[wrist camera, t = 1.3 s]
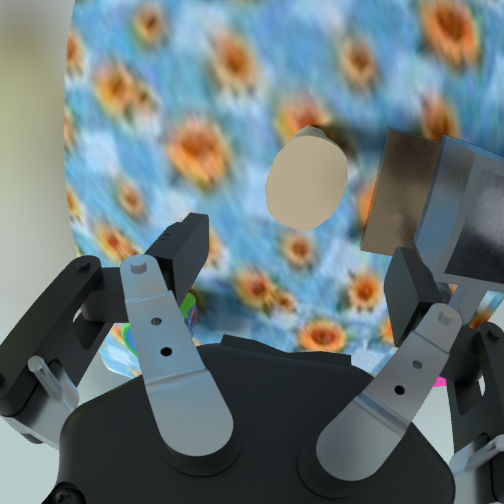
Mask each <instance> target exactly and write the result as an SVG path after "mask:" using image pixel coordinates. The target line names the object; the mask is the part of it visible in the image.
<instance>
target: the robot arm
mask: <svg viewBox="0 0 504 504" xmlns="http://www.w3.org/2000/svg"><path fill="white" fill-rule="evenodd" d="M208 252H209V217H208V215H206V214H199V213H189V214H188V216H187V217H186V218H185V219H184V220H183V221H182V222H176V223H174V224H172V225H170V226H169V227H167V228H166V230H165V231H164V232H163V233H162V234H161V235H160V236H159V237H158V240H156V241H155V242H154V243H153V244H152V245H151V247H150V248H149V249H148V250H147V251H146V252H145V253H144V254H139V255H134V256H131V257H128V258H127V259H125V260H124V261H123V262H122V263H121V265H120V267H110V268H102V266H101V262H100V259H99V258H97V257H96V256H91V255H86V256H81V257H78V258H76V259H74V260H73V261H71V262H70V263H69V264H68V265H67V266H66V267H65V269H64V270H63V271H62V272H61V273H60V274H59V275H58V276H57V277H56V278H55V280H54V281H53V282H52V283H51V284H50V285H49V286H48V287H47V288H46V290H45V291H44V292H43V293H42V294H41V295H40V296H39V298H38V299H37V300H36V301H35V302H34V303H33V305H32V306H31V307H30V308H29V309H28V311H27V312H26V313H25V314H24V316H23V317H22V318H21V320H19V322H18V323H17V324H16V326H15V327H14V328H13V329H12V331H11V332H10V333H9V335H8V336H7V337H6V339H5V340H4V341H3V343H2V344H1V345H0V416H1V417H2V418H3V419H4V420H5V421H6V422H7V423H8V424H9V425H10V426H11V427H13V428H14V429H15V430H16V431H17V432H19V433H20V434H22V435H23V436H24V437H25V438H26V439H28V440H29V441H30V442H32V443H35V444H41V443H46V444H48V445H50V446H51V447H53V448H55V449H57V450H59V454H60V458H59V472H58V477H57V481H56V484H55V486H54V488H53V490H52V492H51V493H50V494H49V495H48V497H47V498H46V499H45V500H44V501H43V502H42V503H41V504H504V332H503V331H502V329H500V327H498V326H497V325H496V324H494V323H491V322H483V323H482V324H481V325H480V326H479V328H478V330H475V329H472V328H469V327H467V326H464V325H462V319H461V316H460V315H459V313H458V312H457V311H456V310H455V309H454V308H452V307H451V306H449V305H446V304H444V301H443V299H442V296H441V294H440V292H439V289H438V287H437V286H436V282H435V280H434V278H433V275H432V273H431V271H430V269H429V268H428V267H427V266H426V265H425V264H424V263H423V262H420V261H419V259H418V256H417V254H416V252H415V250H414V249H411V248H406V247H400V246H397V247H396V249H395V251H394V254H393V257H392V260H391V263H390V265H389V268H388V271H387V274H386V277H385V281H384V293H385V297H386V302H387V307H388V312H389V317H390V322H391V327H392V332H393V338H394V344H395V347H398V348H399V349H398V350H397V351H396V352H395V354H394V355H393V356H392V358H391V359H390V360H389V361H388V362H387V364H386V365H385V366H384V367H383V368H382V370H381V371H380V372H379V373H378V374H377V376H376V377H375V378H374V377H373V376H371V375H370V374H369V373H367V372H365V371H364V370H362V369H360V368H358V367H356V366H353V365H351V355H346V354H338V353H330V352H323V351H315V352H296V353H287V352H283V351H281V350H278V349H276V348H273V347H270V346H268V345H265V344H263V343H260V342H258V341H255V340H251V339H245V338H240V337H235V336H231V335H226V334H224V335H223V338H222V341H221V343H213V344H205V345H200V346H197V347H195V345H194V342H193V340H192V338H191V335H190V333H189V331H188V329H187V326H186V324H185V322H184V319H183V317H182V314H181V312H180V310H179V308H180V306H181V304H182V302H183V301H184V299H185V297H186V295H187V293H188V292H189V290H190V288H191V286H192V284H193V283H194V281H195V279H196V277H197V276H198V274H199V272H200V270H201V269H202V267H203V265H204V263H205V262H206V260H207V257H208ZM79 308H80V309H81V313H80V314H79V315H78V317H77V318H76V319H75V321H74V323H73V318H74V316H75V314H76V312H77V311H78V310H79ZM114 323H130V328H131V332H132V337H133V341H134V345H135V349H136V353H137V357H138V361H139V364H140V368H141V372H142V374H141V375H139V376H138V377H136V378H134V379H132V380H130V381H128V382H126V383H124V384H122V385H120V386H118V387H116V388H114V389H112V390H110V391H108V392H106V393H104V394H102V395H100V396H98V397H96V398H94V399H92V400H90V401H88V402H86V403H84V404H82V405H80V406H79V407H77V405H78V402H79V393H78V390H77V389H76V388H77V386H78V384H79V383H80V381H81V379H82V377H83V375H84V374H85V372H86V370H87V368H88V366H89V364H90V363H91V361H92V359H93V358H94V356H95V354H96V352H97V351H98V349H99V347H100V346H101V344H102V342H103V341H104V339H105V337H106V336H107V334H108V332H109V331H110V329H111V327H112V326H113V324H114ZM482 375H483V378H484V382H485V391H484V394H483V396H482V394H481V390H480V385H479V381H478V380H479V379H480V378H481V377H482ZM438 377H442V378H445V379H446V385H447V392H448V398H449V405H450V412H451V422H452V431H453V442H454V455H453V457H452V458H451V460H450V462H449V466H448V465H447V463H446V462H445V461H444V460H443V458H442V457H441V456H440V455H439V454H438V452H437V451H436V450H435V449H434V447H433V446H432V445H431V444H430V443H429V441H428V440H427V439H426V438H425V437H424V436H423V434H422V433H421V432H420V431H419V429H418V428H417V427H416V426H415V425H414V423H413V422H412V420H413V418H414V416H415V415H416V413H417V412H418V410H419V409H420V407H421V406H422V404H423V402H424V401H425V399H426V397H427V396H428V394H429V392H430V391H431V389H432V387H433V385H434V384H435V382H436V380H437V378H438Z"/></svg>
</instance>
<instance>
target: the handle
mask: <svg viewBox="0 0 504 504" xmlns="http://www.w3.org/2000/svg"><path fill="white" fill-rule="evenodd" d="M346 186H347V159H346V155H345V153H344V152H343V150H342V149H341V148H340V147H339V146H338V145H337V144H336V143H335V142H333V141H332V140H330V139H328V138H327V136H326V135H325V133H324V132H323V131H322V130H321V129H318V128H315V127H312V126H311V125H308V126H306V127H305V128H302V129H300V130H299V131H298V132H297V133H296V134H295V135H294V136H293V138H292V140H291V141H290V142H288V143H287V144H286V145H285V146H284V147H283V148H282V149H281V150H280V152H279V153H278V154H277V155H276V157H275V159H274V162H273V164H272V167H271V170H270V172H269V175H268V178H267V182H266V199H267V206H268V212H269V213H270V214H271V216H272V217H273V218H274V219H275V220H277V221H278V222H280V223H281V224H283V225H285V226H288V227H290V228H294V229H298V230H311V229H315V228H316V227H317V226H319V225H320V224H321V223H323V222H324V221H325V220H326V219H328V218H329V217H330V216H331V215H332V214H333V213H334V212H335V210H336V208H337V207H338V205H339V203H340V201H341V199H342V196H343V194H344V192H345V189H346Z"/></svg>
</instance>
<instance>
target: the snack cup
mask: <svg viewBox="0 0 504 504" xmlns="http://www.w3.org/2000/svg"><path fill="white" fill-rule="evenodd" d="M179 310H180V312H181V314H182V317H183V319H184V322H185V324H186V326H187V329H188V331H189V333H190V335H191V338H192V336H193V332H194V328H195V324H196V320H197V316H198V307H197V306H196V298H195V297H194V296H193V295H192V294H191V293H189V292H188V293H187V295H186V297H185V299H184V301H183V302H182V304H181V306H180V308H179ZM121 334H122V339H123V341H124V343H125V345H126V346H127V348H128V349H129V350H130V351H131V352H132V353H133V354H134V355H135V356H136V357H137V353H136V349H135V345H134V341H133V337H132V332H131V328H130V323H125V324H124V326H123V328H122V332H121Z"/></svg>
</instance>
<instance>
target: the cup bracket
mask: <svg viewBox="0 0 504 504" xmlns="http://www.w3.org/2000/svg"><path fill="white" fill-rule="evenodd" d="M397 246H400V247H406V248H411V249H414V250H415V252H416V254H417V256H418V259H419V261H420V262H423V263H424V264H425V265H426V266H427V267H428V268H429V269H430V271H431V273H432V275H433V278H434V280H435V282H436V286H437V287H438V289H439V292H440V294H441V296H442V299H443V301H444V304H446V305H449V306H451V307H452V308H454V309H455V310H456V311H457V312H458V313H459V315H460V316H461V319H462V325H464V326H465V323H466V324H468V323H469V321H470V319H471V318H472V316H473V314H474V313H475V311H476V309H477V308H478V306H479V304H480V303H481V301H482V299H483V297H484V296H485V294H486V292H487V290H490V291H496V292H502V293H504V157H502V156H500V155H498V154H495V153H493V152H490V151H488V150H485V149H483V148H480V147H478V146H475V145H472V144H470V143H467V142H464V141H461V140H459V139H456V138H453V137H450V136H447V135H444V134H443V136H442V141H441V142H439V141H436V140H432V139H429V138H426V137H422V136H419V135H415V134H412V133H408V132H404V131H400V130H396V129H392V128H388V127H387V129H386V135H385V140H384V145H383V150H382V155H381V160H380V165H379V170H378V174H377V179H376V183H375V188H374V192H373V196H372V200H371V204H370V208H369V212H368V216H367V220H366V224H365V227H364V231H363V235H362V238H361V242H360V250H361V251H367V252H372V253H378V254H384V255H389V256H393V254H394V251H395V249H396V247H397ZM448 283H449V284H455V285H458V287H457V289H456V290H455V292H454V294H452V292H451V290H450V288H449V285H448Z"/></svg>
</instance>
